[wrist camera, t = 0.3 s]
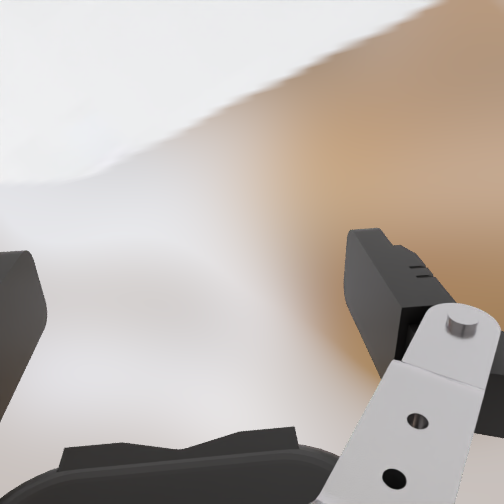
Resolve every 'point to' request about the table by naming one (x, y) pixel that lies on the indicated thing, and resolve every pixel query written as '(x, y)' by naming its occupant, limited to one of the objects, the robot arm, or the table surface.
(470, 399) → the robot arm
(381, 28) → the table surface
